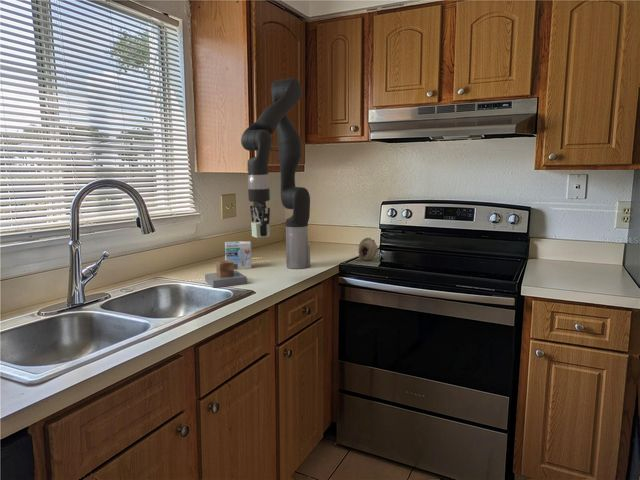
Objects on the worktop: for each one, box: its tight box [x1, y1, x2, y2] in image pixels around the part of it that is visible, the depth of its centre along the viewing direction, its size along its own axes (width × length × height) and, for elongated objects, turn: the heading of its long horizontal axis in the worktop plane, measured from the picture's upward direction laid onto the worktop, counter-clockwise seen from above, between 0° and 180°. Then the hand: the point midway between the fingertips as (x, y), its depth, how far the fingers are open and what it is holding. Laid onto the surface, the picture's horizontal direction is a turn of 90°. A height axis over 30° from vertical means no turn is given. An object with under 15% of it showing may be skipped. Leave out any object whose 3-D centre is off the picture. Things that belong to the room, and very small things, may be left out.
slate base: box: [204, 270, 248, 289], centre depth 164 cm, size 12×12×2 cm
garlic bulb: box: [357, 237, 378, 261], centre depth 203 cm, size 9×8×10 cm
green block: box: [250, 221, 271, 239], centre depth 162 cm, size 5×5×5 cm
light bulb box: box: [224, 240, 253, 270], centre depth 188 cm, size 11×7×11 cm, turn 105°
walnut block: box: [215, 259, 235, 278], centre depth 163 cm, size 5×5×5 cm
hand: (260, 234), depth 163 cm, fingers closed on green block, 5 cm apart
